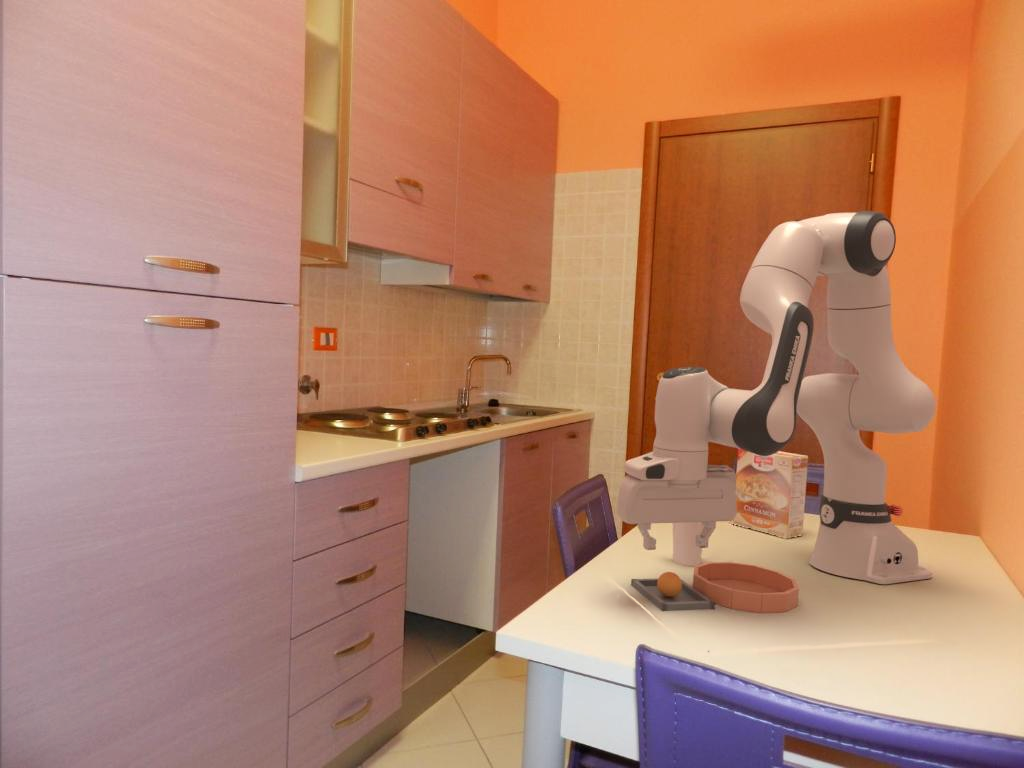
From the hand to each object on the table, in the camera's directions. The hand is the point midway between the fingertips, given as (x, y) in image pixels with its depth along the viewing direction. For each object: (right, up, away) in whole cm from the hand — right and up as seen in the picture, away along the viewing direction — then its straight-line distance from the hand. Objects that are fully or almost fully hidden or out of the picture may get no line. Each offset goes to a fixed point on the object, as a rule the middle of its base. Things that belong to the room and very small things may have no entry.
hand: (675, 548), depth 112 cm
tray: (-1, -9, 0) cm, 9 cm away
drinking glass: (+7, -8, +20) cm, 23 cm away
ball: (-1, -8, 0) cm, 8 cm away
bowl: (+12, -9, +3) cm, 16 cm away
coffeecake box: (+35, -9, +53) cm, 64 cm away
